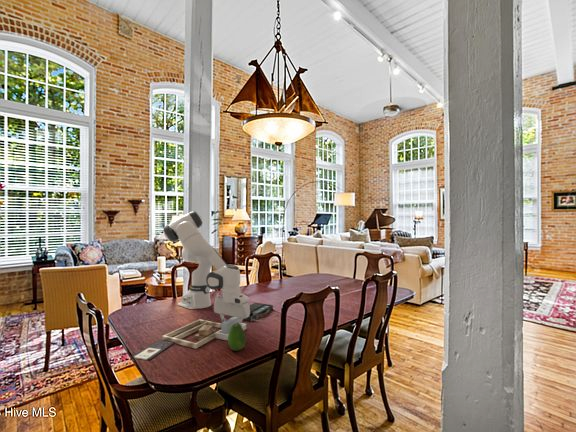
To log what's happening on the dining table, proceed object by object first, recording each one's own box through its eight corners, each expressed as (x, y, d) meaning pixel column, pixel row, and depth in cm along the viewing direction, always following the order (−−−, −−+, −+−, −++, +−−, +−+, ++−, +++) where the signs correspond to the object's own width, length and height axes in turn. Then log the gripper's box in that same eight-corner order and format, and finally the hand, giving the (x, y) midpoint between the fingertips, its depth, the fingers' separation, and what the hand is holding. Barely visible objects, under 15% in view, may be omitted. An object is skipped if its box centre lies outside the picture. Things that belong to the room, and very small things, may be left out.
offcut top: (198, 335, 149) (198, 330, 149) (203, 329, 156) (203, 324, 156) (207, 335, 149) (207, 330, 149) (212, 330, 156) (212, 325, 156)
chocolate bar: (175, 341, 145) (149, 359, 127) (175, 343, 145) (149, 361, 127) (159, 339, 147) (131, 356, 130) (159, 341, 147) (131, 358, 130)
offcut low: (194, 340, 149) (194, 335, 149) (208, 333, 158) (208, 328, 158) (202, 342, 147) (202, 337, 147) (215, 334, 156) (215, 330, 156)
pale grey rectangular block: (221, 337, 152) (221, 322, 152) (235, 328, 163) (235, 315, 163) (226, 338, 151) (226, 323, 151) (240, 329, 162) (240, 316, 162)
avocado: (224, 351, 136) (224, 324, 136) (236, 344, 143) (236, 319, 143) (237, 356, 132) (237, 328, 132) (249, 349, 138) (249, 322, 138)
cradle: (215, 337, 151) (215, 332, 151) (235, 326, 166) (235, 321, 166) (226, 340, 148) (226, 335, 148) (246, 328, 163) (246, 323, 163)
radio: (255, 300, 201) (282, 304, 193) (255, 307, 201) (282, 311, 193) (232, 311, 179) (261, 316, 170) (232, 318, 179) (261, 324, 170)
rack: (162, 340, 148) (162, 335, 148) (199, 322, 171) (199, 319, 171) (195, 348, 139) (195, 344, 139) (230, 329, 162) (230, 325, 162)
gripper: (211, 295, 158) (211, 322, 159) (244, 301, 149) (244, 329, 150) (219, 293, 164) (218, 318, 164) (251, 297, 155) (251, 325, 155)
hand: (231, 324), depth 157 cm, fingers open, 8 cm apart
